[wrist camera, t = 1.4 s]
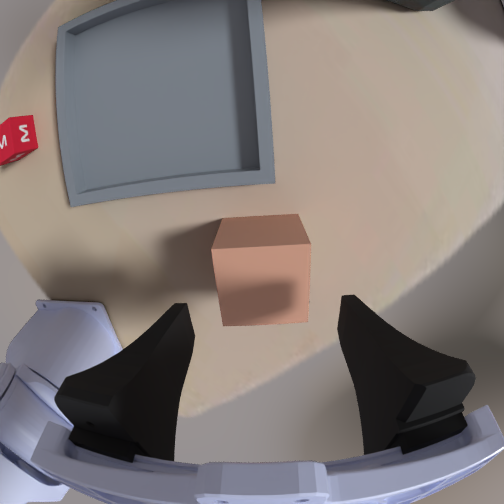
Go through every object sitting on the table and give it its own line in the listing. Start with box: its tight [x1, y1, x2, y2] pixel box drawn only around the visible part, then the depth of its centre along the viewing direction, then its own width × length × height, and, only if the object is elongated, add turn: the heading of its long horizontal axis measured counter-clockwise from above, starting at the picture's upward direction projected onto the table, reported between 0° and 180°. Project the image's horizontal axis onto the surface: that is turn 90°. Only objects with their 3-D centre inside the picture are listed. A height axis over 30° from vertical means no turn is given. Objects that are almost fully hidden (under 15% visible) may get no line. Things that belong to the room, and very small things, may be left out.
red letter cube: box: [0, 115, 38, 166], centre depth 14 cm, size 3×3×3 cm
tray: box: [56, 0, 275, 207], centre depth 14 cm, size 14×14×2 cm
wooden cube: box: [211, 214, 311, 326], centre depth 17 cm, size 5×5×5 cm
